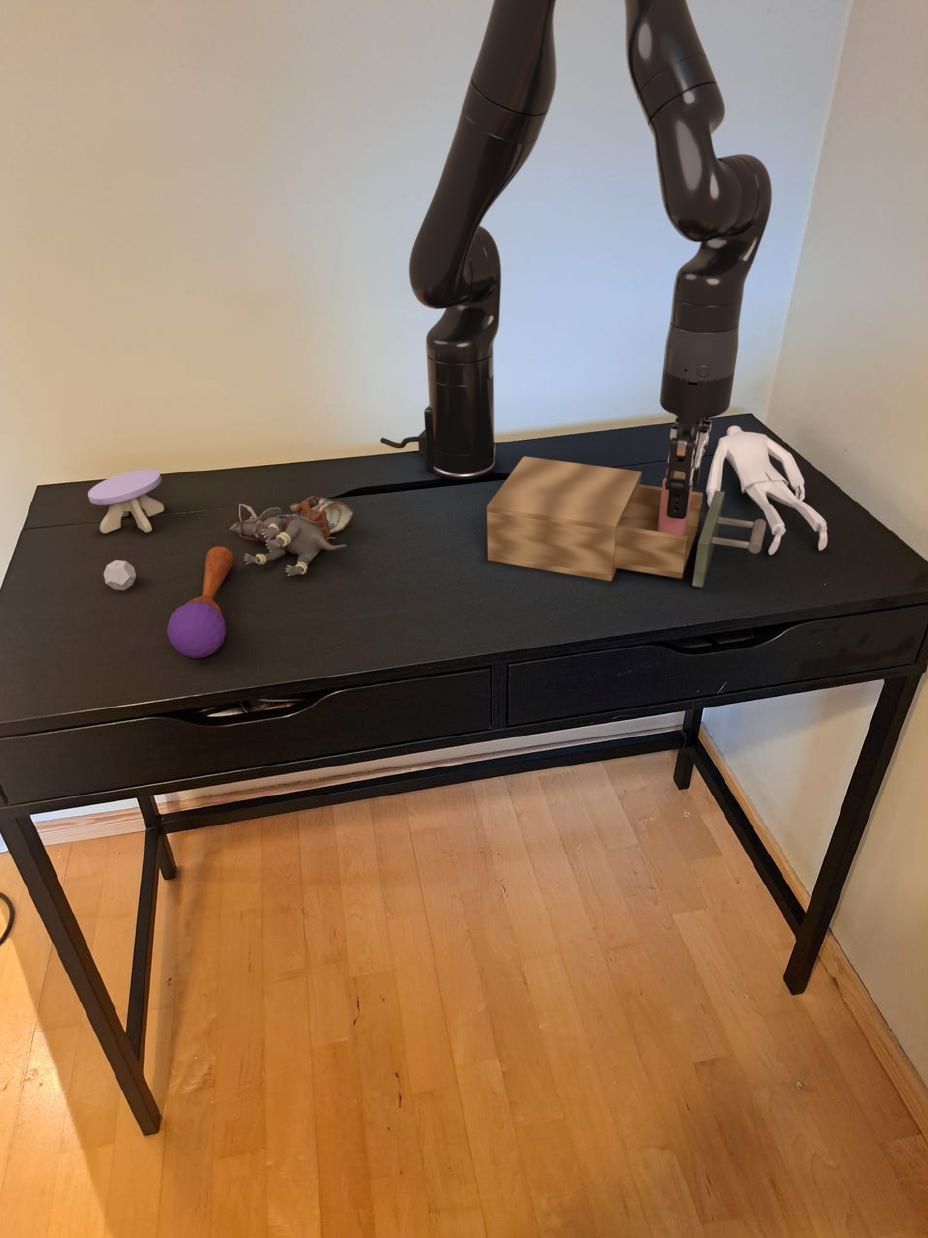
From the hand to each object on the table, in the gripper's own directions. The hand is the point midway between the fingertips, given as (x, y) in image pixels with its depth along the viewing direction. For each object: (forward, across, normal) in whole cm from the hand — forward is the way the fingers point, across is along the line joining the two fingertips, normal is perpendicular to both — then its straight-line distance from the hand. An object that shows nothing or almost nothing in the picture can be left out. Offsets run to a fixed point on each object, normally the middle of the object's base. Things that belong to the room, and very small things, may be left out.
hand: (682, 500), depth 105 cm
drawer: (+7, 0, 0) cm, 7 cm away
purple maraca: (+8, +28, -48) cm, 57 cm away
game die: (+8, +26, -62) cm, 68 cm away
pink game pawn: (+6, 0, -1) cm, 6 cm away
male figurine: (+8, -17, +8) cm, 20 cm away
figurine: (+8, +10, -46) cm, 48 cm away
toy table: (+8, +12, -71) cm, 73 cm away
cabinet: (+8, 0, -14) cm, 16 cm away
